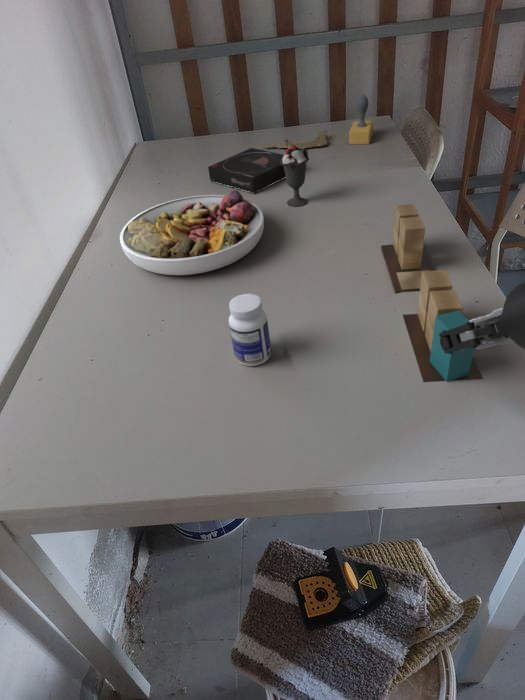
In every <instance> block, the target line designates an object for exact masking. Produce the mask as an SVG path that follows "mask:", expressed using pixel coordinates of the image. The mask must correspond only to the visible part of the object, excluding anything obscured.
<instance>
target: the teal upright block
mask: <svg viewBox="0 0 525 700" xmlns="http://www.w3.org/2000/svg"><path fill="white" fill-rule="evenodd" d="M469 321H470V319H468V318H467V317H466V316H465V315H464V314H463V312H462V313H461V312H460V311H454V312H450V313H446V314H442V315H439V316H436V317H435V325H434V332H433V339H432V347H431V354H430V363H431V364H432V365H433V366H434V367H435V369H436V370H437V371H438V372H439V373H440V374H441V376H442V377H443V378H444V379H445V380H446V381H445V382H452V381H451V380H454V379H458V378H462V377H465V376H469V372H470V367H471V362H472V357H474V352H475V348H473V347H469V348H466V349H465V350H463V351H460V350H458V351H454V352H453V353H452V354H448V353H447V354H445V353H444V350H442V347H441V344H440V341H439V339H441V338H440V336H439V333H441V332H442V331H444V330H446V331H447V330H450V329H453V328H456V327H459V326H462V325H465V323H467V322H469Z"/></svg>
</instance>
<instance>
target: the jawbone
mask: <svg viewBox="0 0 525 700" xmlns="http://www.w3.org/2000/svg"><path fill="white" fill-rule="evenodd" d="M327 133H328V130H327V129H325V130H320V131H319V132H318V133H317V136H316V138H315V139H314V140H311V141H301V142H300V141H298V142H295V141H293V142H292V141H291V142H287V143H288V148H290V149H291V147H292V145H294V146H296V147H298V148H300V149H302V150H304V148H305V147H306V148H309V149H313V148H320V147H325V146H327V144H328V138H329V137H328V134H327ZM326 139H327V140H326ZM287 143H285V144H269V143H265V144H264V145H263V146H262V148H263V149H264V148H265V149H266V148H267V149H270V148H273V147H277V148H276V149H280V148H287ZM290 143H291V144H292V145H291V144H290ZM312 147H313V148H312ZM273 149H274V148H273Z"/></svg>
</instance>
